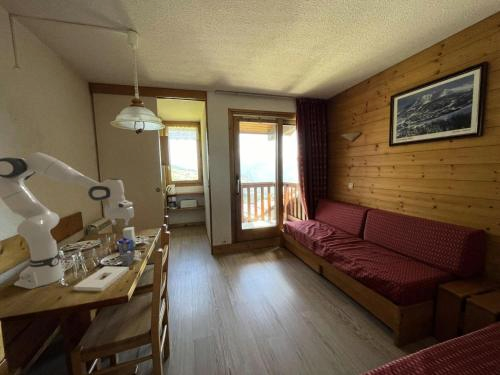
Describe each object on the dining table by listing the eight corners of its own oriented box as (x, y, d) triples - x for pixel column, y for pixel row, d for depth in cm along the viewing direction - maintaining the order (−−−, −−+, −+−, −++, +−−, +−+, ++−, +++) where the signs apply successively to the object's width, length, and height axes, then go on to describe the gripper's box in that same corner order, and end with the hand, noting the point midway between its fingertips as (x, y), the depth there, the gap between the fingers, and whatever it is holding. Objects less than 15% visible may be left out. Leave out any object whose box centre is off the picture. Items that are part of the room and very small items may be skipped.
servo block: (120, 267, 137) (119, 256, 136) (130, 260, 147) (129, 249, 146) (126, 267, 137) (124, 256, 136) (135, 260, 147) (134, 249, 146)
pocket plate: (73, 290, 113) (73, 286, 113) (105, 269, 135) (104, 266, 135) (101, 291, 112) (101, 287, 112) (128, 270, 134) (128, 266, 133)
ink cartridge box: (119, 256, 154) (117, 236, 152) (126, 253, 159) (124, 234, 157) (128, 258, 150) (126, 238, 148) (135, 255, 155) (133, 236, 153)
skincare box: (132, 248, 167) (131, 229, 165) (123, 249, 165) (121, 230, 163) (136, 244, 175) (134, 226, 173) (127, 245, 173) (125, 227, 172)
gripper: (100, 204, 133) (103, 225, 135) (126, 205, 128) (129, 227, 129) (109, 202, 139) (111, 222, 141) (134, 202, 134) (137, 224, 135)
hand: (120, 224), depth 135 cm, fingers open, 8 cm apart
